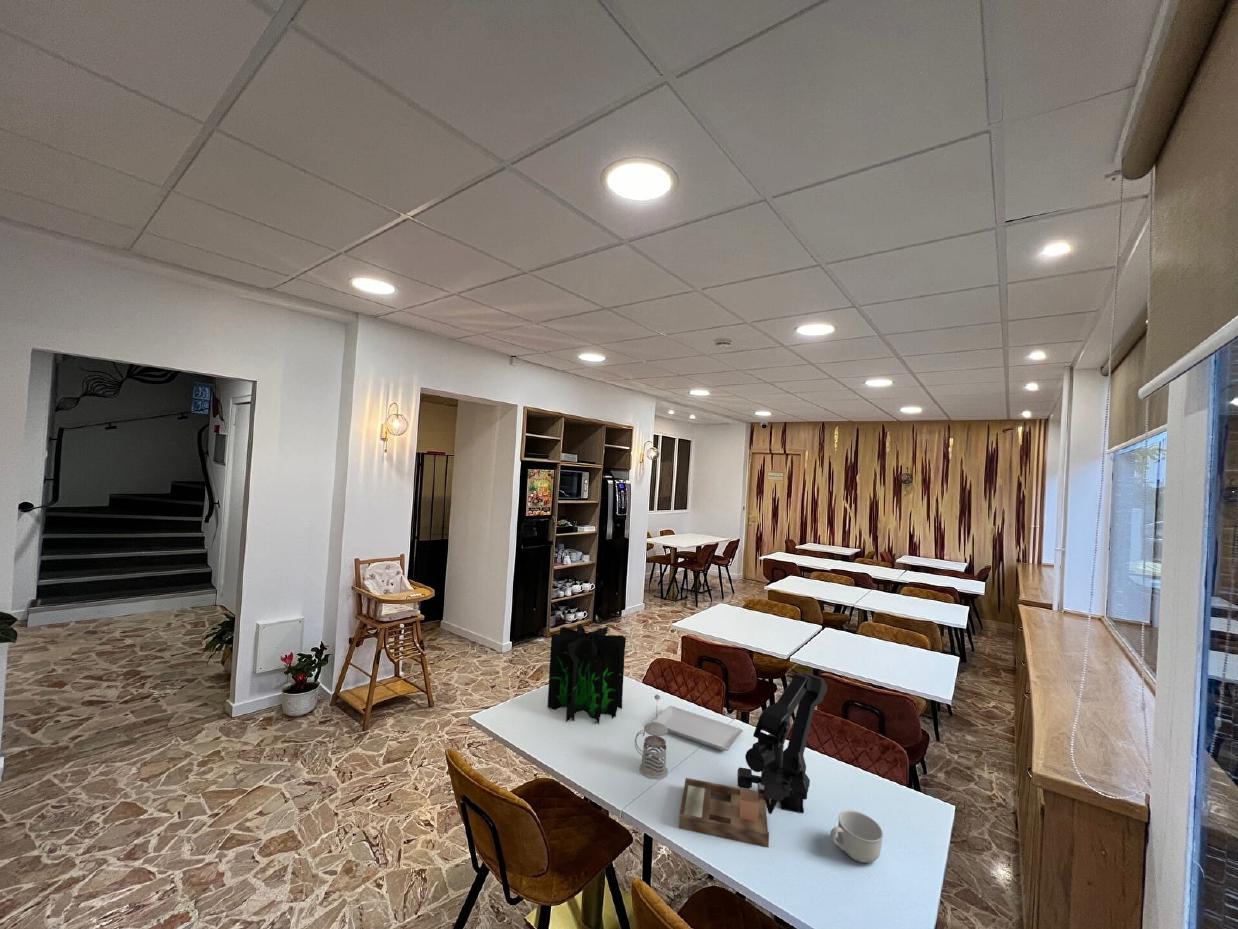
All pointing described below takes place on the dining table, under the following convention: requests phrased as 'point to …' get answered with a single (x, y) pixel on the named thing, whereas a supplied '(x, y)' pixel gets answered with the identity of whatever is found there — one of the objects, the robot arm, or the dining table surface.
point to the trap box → (721, 813)
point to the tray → (699, 728)
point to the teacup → (858, 836)
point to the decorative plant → (586, 672)
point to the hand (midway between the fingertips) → (769, 813)
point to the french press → (652, 764)
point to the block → (749, 805)
